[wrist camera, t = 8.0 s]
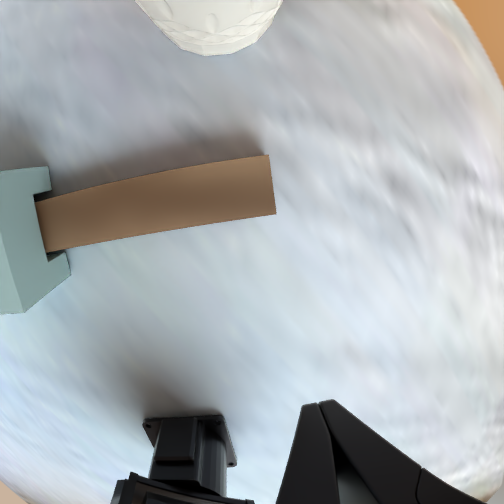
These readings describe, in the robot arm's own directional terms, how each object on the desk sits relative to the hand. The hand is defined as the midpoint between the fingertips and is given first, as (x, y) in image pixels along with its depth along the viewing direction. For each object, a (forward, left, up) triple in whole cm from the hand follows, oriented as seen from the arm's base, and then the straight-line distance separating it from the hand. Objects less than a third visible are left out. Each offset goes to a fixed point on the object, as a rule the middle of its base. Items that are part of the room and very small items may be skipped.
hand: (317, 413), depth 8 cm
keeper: (+5, +16, -12) cm, 21 cm away
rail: (+5, +11, -12) cm, 17 cm away
